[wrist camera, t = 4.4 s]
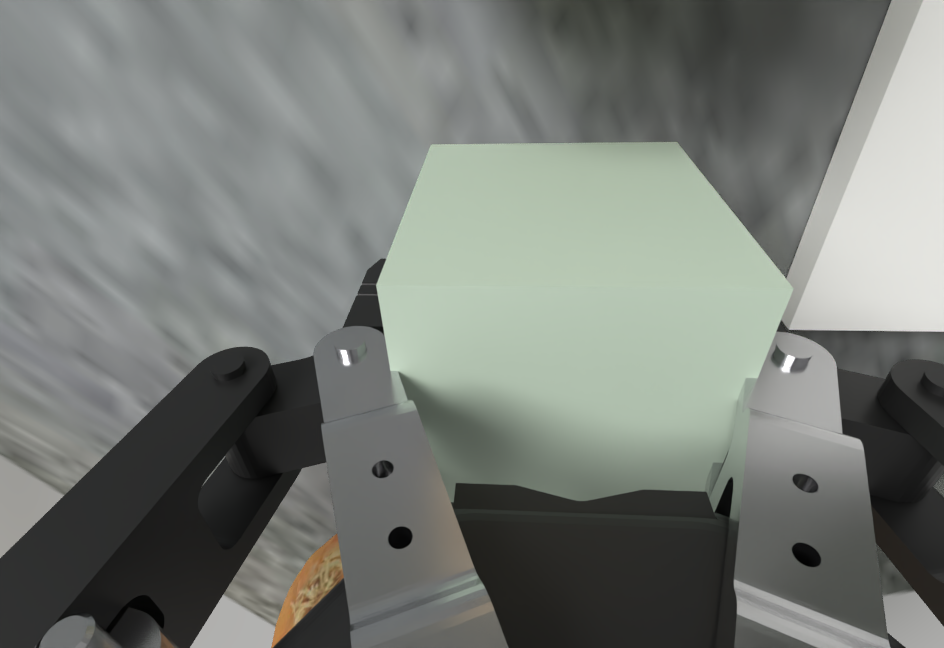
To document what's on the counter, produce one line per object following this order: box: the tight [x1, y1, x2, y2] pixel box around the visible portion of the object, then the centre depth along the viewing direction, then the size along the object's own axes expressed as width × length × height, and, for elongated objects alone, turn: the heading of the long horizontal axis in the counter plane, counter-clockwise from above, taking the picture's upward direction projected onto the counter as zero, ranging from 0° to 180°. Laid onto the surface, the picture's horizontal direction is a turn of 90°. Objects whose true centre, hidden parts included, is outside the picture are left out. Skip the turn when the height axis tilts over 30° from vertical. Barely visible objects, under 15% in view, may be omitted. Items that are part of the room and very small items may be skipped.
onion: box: [271, 534, 344, 648], centre depth 20 cm, size 10×10×10 cm
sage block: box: [376, 142, 794, 502], centre depth 11 cm, size 6×6×6 cm
